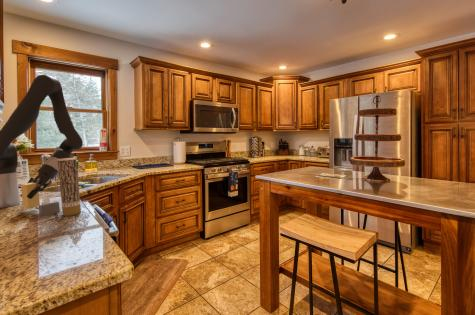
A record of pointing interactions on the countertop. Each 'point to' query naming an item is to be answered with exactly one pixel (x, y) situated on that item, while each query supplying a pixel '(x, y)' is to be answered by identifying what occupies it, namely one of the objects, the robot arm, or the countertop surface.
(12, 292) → the countertop surface
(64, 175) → the brown bark pillar
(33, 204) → the keeper
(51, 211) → the track
